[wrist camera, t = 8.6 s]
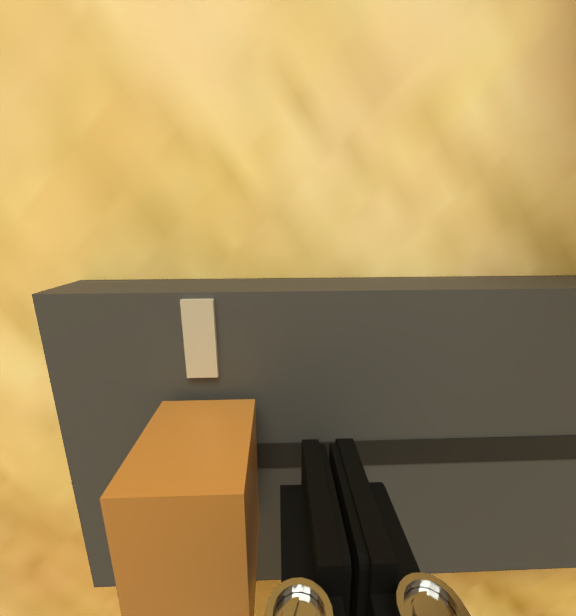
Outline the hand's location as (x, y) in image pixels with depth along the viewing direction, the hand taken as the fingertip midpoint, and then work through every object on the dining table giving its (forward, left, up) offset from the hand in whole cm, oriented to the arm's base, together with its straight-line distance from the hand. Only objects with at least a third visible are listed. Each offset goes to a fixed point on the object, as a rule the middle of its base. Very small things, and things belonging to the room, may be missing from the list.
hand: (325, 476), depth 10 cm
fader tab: (0, +4, -1) cm, 4 cm away
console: (0, -4, -4) cm, 5 cm away
